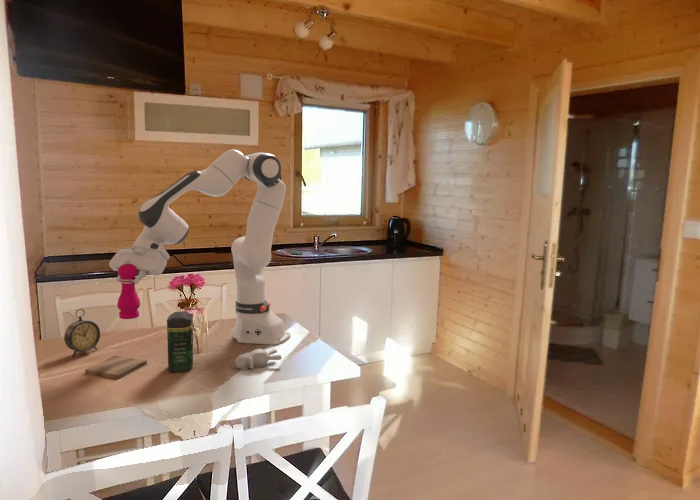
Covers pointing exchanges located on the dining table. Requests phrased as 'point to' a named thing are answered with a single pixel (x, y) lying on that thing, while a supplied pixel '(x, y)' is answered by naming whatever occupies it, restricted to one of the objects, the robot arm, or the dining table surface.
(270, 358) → the bunny figurine
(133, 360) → the walnut board
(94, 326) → the alarm clock
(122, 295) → the pepper mill
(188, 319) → the coffee jar
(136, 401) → the dining table surface
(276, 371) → the dining table surface
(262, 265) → the robot arm
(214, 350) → the dining table surface
